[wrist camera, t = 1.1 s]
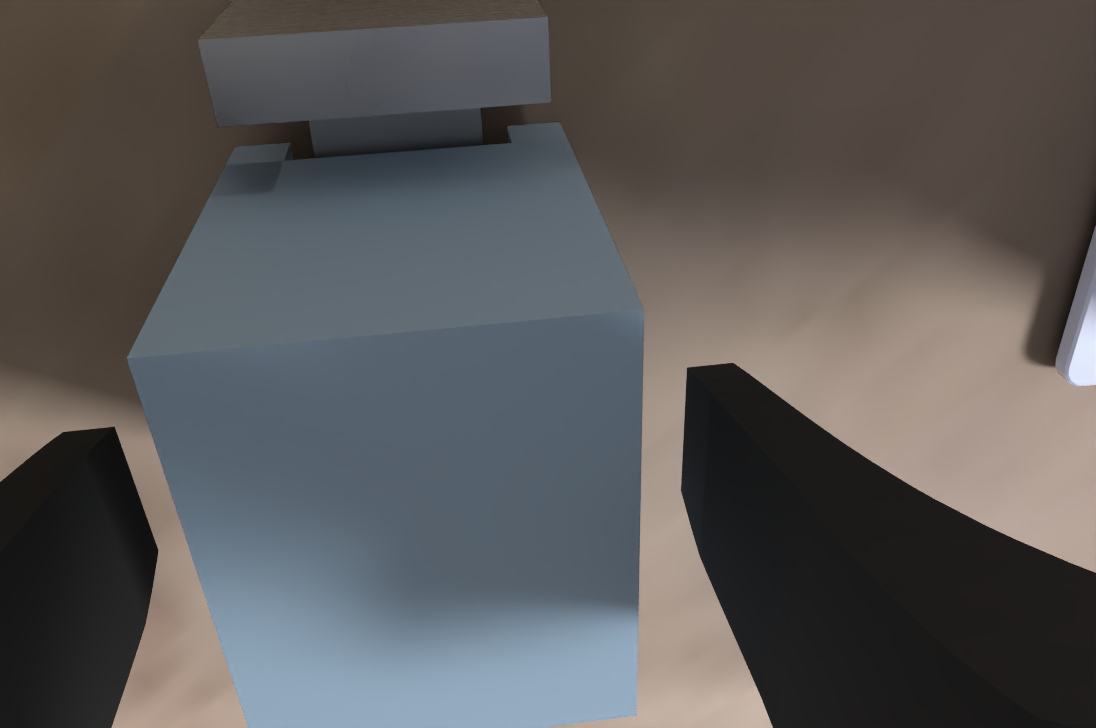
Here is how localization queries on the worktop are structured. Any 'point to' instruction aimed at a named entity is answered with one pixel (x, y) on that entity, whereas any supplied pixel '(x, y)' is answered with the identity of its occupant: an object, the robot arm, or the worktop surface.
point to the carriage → (407, 435)
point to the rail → (376, 68)
